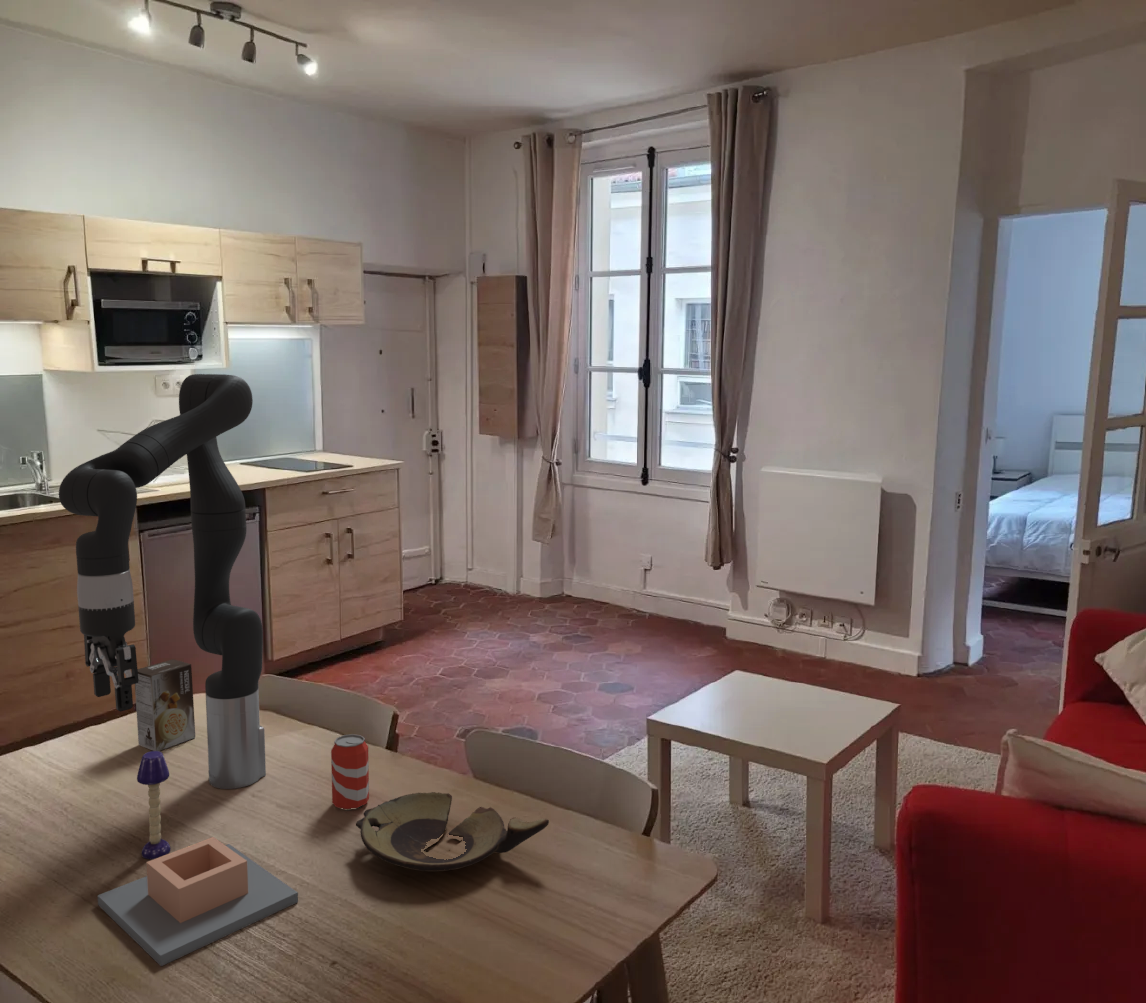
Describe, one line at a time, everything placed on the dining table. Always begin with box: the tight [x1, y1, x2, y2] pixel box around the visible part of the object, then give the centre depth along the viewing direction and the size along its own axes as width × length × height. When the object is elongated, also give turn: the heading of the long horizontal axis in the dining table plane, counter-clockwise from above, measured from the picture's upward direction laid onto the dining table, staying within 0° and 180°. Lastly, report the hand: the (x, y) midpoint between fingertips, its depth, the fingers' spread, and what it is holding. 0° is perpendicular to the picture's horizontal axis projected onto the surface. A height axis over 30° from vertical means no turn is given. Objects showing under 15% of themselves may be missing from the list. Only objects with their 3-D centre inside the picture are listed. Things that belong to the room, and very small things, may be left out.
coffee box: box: [134, 659, 196, 752], centre depth 189 cm, size 9×6×16 cm
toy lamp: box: [136, 750, 171, 860], centre depth 146 cm, size 5×5×17 cm
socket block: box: [97, 836, 299, 967], centre depth 133 cm, size 20×20×6 cm
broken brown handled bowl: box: [355, 791, 550, 872], centre depth 147 cm, size 22×30×8 cm
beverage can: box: [330, 733, 370, 810], centre depth 164 cm, size 6×6×12 cm
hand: (113, 702), depth 142 cm, fingers open, 8 cm apart
